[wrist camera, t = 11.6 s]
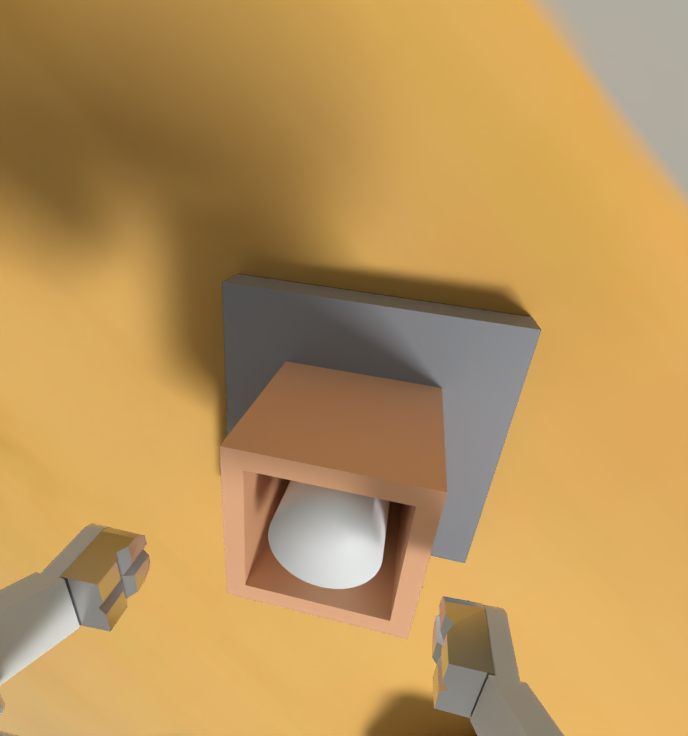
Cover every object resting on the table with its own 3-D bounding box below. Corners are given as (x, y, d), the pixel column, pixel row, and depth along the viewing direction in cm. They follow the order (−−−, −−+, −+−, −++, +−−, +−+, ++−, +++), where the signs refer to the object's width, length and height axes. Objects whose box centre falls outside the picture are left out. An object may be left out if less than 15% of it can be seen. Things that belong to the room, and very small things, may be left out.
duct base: (241, 490, 23) (162, 621, 16) (238, 273, 17) (118, 334, 11) (462, 538, 21) (477, 706, 14) (532, 316, 16) (604, 419, 9)
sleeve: (281, 481, 20) (226, 593, 14) (286, 361, 17) (219, 446, 12) (414, 509, 19) (407, 639, 14) (442, 388, 16) (447, 492, 11)
